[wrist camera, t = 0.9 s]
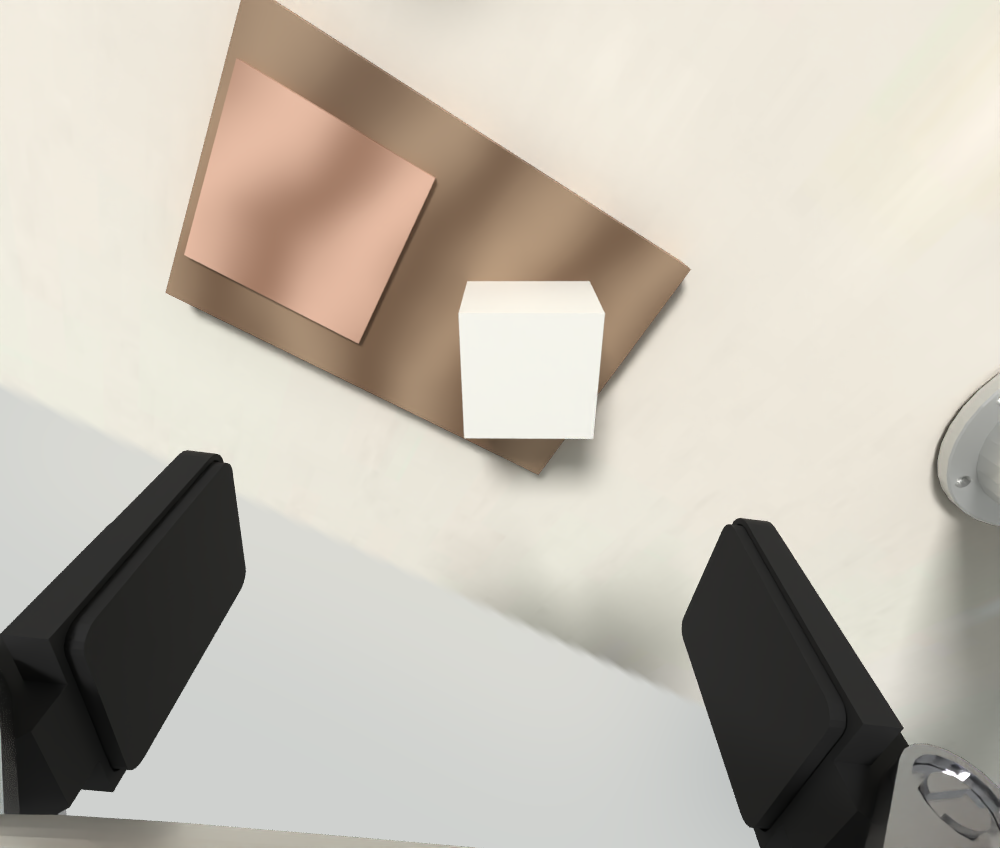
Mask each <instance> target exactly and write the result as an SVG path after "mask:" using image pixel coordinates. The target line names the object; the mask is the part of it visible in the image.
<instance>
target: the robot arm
mask: <svg viewBox="0 0 1000 848" xmlns="http://www.w3.org/2000/svg"><path fill="white" fill-rule="evenodd" d="M938 478H939V481H940V484H941V487H942V489H943V491H944V492H945V494H946V495H947V496H948V498H949V499H950V500H951V501H952V502H953V503H954V504H955V505H957V506H958V507H959V508H960V509H961V510H962V511H963V512H964V513H966V514H968V515H969V516H971V517H973V518H974V519H976V520H978V521H981V522H985V523H988V524H991V525H996V526H1000V373H999V374H998V375H997V376H995V377H994V378H993V379H992V380H991V381H989V382H988V383H987V384H986V385H984V386H983V387H982V388H981V389H980V390H978V391H977V393H976V394H975V395H974V396H973V397H972V398H971V399H970V400H969V401H968V402H967V403H966V404H965V405H964V406H963V407H962V409H961V410H960V412H959V413H958V415H957V416H956V418H955V419H954V420H953V422H952V423H951V425H950V426H949V429H948V431H947V433H946V435H945V437H944V439H943V441H942V443H941V448H940V452H939V456H938ZM245 569H246V568H245V560H244V553H243V546H242V538H241V531H240V523H239V516H238V509H237V501H236V494H235V486H234V479H233V472H232V467H231V465H230V464H228V463H224V462H223V459H222V457H221V456H220V455H218V454H213V453H205V452H197V451H188V450H187V451H183V452H182V453H180V454H179V455H178V456H177V457H176V458H175V459H174V460H173V461H172V462H171V463H170V464H169V465H168V466H167V467H166V468H165V469H164V470H163V471H162V472H161V473H160V474H159V475H158V476H157V477H156V478H155V479H154V481H153V482H151V483H150V484H149V485H148V486H147V487H146V489H145V490H144V491H143V492H142V493H141V494H140V495H139V496H138V497H137V498H136V499H135V500H134V501H133V502H132V503H131V504H130V505H129V506H128V507H127V508H126V509H125V510H124V511H123V512H122V513H121V514H120V515H119V516H118V517H117V518H116V519H115V520H114V521H113V522H112V523H110V524H109V525H108V526H107V527H106V528H105V529H104V530H103V531H102V532H101V533H100V534H99V535H98V536H97V537H96V538H95V539H94V540H93V541H92V542H91V543H90V544H89V545H88V546H87V547H86V548H85V549H84V550H83V551H82V552H81V553H80V554H79V555H78V556H77V557H76V558H75V559H74V560H73V561H72V562H71V563H70V564H69V565H68V566H67V567H66V568H65V569H64V571H62V573H60V574H59V575H58V576H57V577H56V578H55V579H54V580H53V581H52V582H51V583H50V584H49V585H48V586H47V587H46V588H45V589H44V590H43V591H42V593H41V594H39V595H38V596H37V597H36V599H34V601H33V602H31V603H30V605H28V607H27V608H26V609H25V610H24V611H23V612H22V613H21V614H20V615H19V616H18V617H17V618H16V619H15V620H14V621H13V622H12V623H11V624H10V625H9V626H8V627H7V628H6V629H5V630H4V631H3V632H2V633H1V634H0V848H473V847H462V846H450V845H439V844H427V843H415V842H404V841H393V840H381V839H371V838H359V837H346V836H335V835H323V834H311V833H299V832H287V831H275V830H274V831H273V830H262V829H251V828H238V827H226V826H215V825H203V824H191V823H178V822H162V821H147V820H131V819H115V818H99V817H84V816H67V815H66V809H67V808H69V807H70V806H71V804H72V802H73V801H74V800H75V798H76V796H77V795H78V793H79V792H80V790H81V789H83V790H94V791H106V792H113V791H114V790H115V788H116V786H117V785H118V783H119V781H120V780H121V778H122V776H123V774H124V773H125V771H126V770H133V769H134V768H136V767H137V766H138V765H139V764H140V763H141V761H142V760H143V758H144V757H145V755H146V753H147V751H148V750H149V748H150V746H151V745H152V743H153V741H154V739H155V737H156V736H157V734H158V732H159V731H160V729H161V727H162V725H163V724H164V722H165V720H166V718H167V717H168V715H169V713H170V711H171V710H172V708H173V706H174V705H175V703H176V701H177V699H178V698H179V696H180V694H181V692H182V691H183V689H184V687H185V685H186V684H187V682H188V680H189V679H190V677H191V675H192V673H193V671H194V670H195V668H196V666H197V665H198V663H199V661H200V659H201V658H202V656H203V654H204V652H205V651H206V649H207V647H208V645H209V644H210V642H211V640H212V639H213V637H214V635H215V633H216V632H217V630H218V628H219V626H220V625H221V623H222V621H223V619H224V618H225V616H226V614H227V613H228V611H229V609H230V607H231V606H232V604H233V602H234V600H235V599H236V597H237V595H238V593H239V592H240V590H241V588H242V585H243V583H244V579H245V573H246V570H245ZM682 636H683V640H684V643H685V646H686V649H687V652H688V655H689V658H690V661H691V664H692V667H693V670H694V673H695V676H696V679H697V682H698V685H699V688H700V691H701V694H702V697H703V700H704V704H705V707H706V710H707V713H708V716H709V719H710V722H711V725H712V728H713V731H714V734H715V737H716V740H717V743H718V746H719V749H720V752H721V755H722V758H723V761H724V764H725V767H726V770H727V773H728V777H729V779H730V782H731V786H732V789H733V792H734V795H735V798H736V801H737V804H738V807H739V809H740V813H741V815H742V818H743V820H744V821H745V823H746V824H747V825H748V826H749V827H751V828H754V831H755V834H756V837H757V840H758V842H759V846H760V848H1000V788H999V787H998V786H997V785H995V784H994V783H993V782H992V781H991V780H990V779H989V778H988V777H987V776H986V775H985V774H984V773H983V772H982V771H980V770H979V769H977V768H976V767H975V766H973V765H972V764H970V763H969V762H968V761H966V760H965V759H963V758H962V757H960V756H958V755H956V754H954V753H952V752H950V751H948V750H946V749H944V748H940V747H937V746H934V745H930V744H913V745H911V746H909V745H908V744H907V742H906V740H905V739H904V737H903V736H902V734H901V731H902V730H903V726H902V725H901V723H900V722H899V720H898V718H897V717H896V715H895V714H894V712H893V711H892V709H891V708H890V706H889V704H888V703H887V701H886V700H885V698H884V697H883V695H882V693H881V692H880V690H879V689H878V687H877V686H876V684H875V683H874V681H873V679H872V678H871V676H870V675H869V673H868V672H867V670H866V669H865V667H864V665H863V664H862V662H861V661H860V659H859V658H858V656H857V655H856V653H855V651H854V650H853V648H852V647H851V645H850V644H849V642H848V641H847V639H846V637H845V636H844V634H843V633H842V631H841V630H840V628H839V627H838V625H837V623H836V622H835V620H834V619H833V617H832V616H831V614H830V613H829V611H828V609H827V608H826V606H825V605H824V603H823V602H822V600H821V599H820V597H819V595H818V594H817V592H816V591H815V589H814V588H813V586H812V585H811V583H810V581H809V580H808V578H807V577H806V575H805V574H804V572H803V570H802V569H801V567H800V566H799V564H798V563H797V561H796V560H795V558H794V556H793V555H792V553H791V552H790V550H789V549H788V547H787V546H786V544H785V542H784V541H783V539H782V538H781V536H780V535H779V533H778V532H777V530H776V528H775V527H774V526H773V525H772V524H771V523H770V522H767V521H760V520H752V519H743V518H739V519H736V520H735V521H734V522H733V524H732V525H730V524H729V525H726V526H725V527H724V528H723V530H722V532H721V535H720V537H719V539H718V541H717V544H716V546H715V548H714V550H713V552H712V555H711V557H710V559H709V561H708V564H707V566H706V568H705V570H704V573H703V575H702V577H701V579H700V582H699V584H698V586H697V588H696V591H695V593H694V595H693V597H692V600H691V602H690V604H689V606H688V609H687V611H686V613H685V615H684V618H683V621H682Z"/></svg>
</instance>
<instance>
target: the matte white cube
mask: <svg viewBox="0 0 1000 848" xmlns="http://www.w3.org/2000/svg"><path fill="white" fill-rule="evenodd" d="M458 314H459V336H460V358H461V380H462V402H463V423H464V438H518V439H593V436H594V425H595V414H596V404H597V393H598V382H599V372H600V361H601V350H602V339H603V329H604V318H605V312H604V310H603V308H602V306H601V304H600V302H599V300H598V298H597V296H596V294H595V291H594V289H593V287H592V285H591V283H590V281H467V284H466V288H465V291H464V295H463V299H462V302H461V306H460V310H459V313H458Z"/></svg>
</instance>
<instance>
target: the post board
mask: <svg viewBox="0 0 1000 848" xmlns="http://www.w3.org/2000/svg"><path fill="white" fill-rule="evenodd" d="M690 270H691V269H690V268H689V267H687V266H686V265H685V264H684V263H683V262H681V261H680V260H678V259H677V258H675V257H673V256H672V255H670V254H669V253H667V252H666V251H664V250H663V249H661V248H659V247H658V246H656V245H655V244H653V243H652V242H650V241H649V240H647V239H645V238H644V237H642V236H641V235H639V234H638V233H636V232H634V231H633V230H631V229H630V228H628V227H627V226H625V225H624V224H622V223H620V222H619V221H617V220H616V219H614V218H613V217H611V216H610V215H608V214H606V213H605V212H603V211H602V210H600V209H599V208H597V207H596V206H594V205H592V204H591V203H589V202H588V201H586V200H585V199H583V198H582V197H580V196H578V195H577V194H575V193H574V192H572V191H571V190H569V189H568V188H566V187H564V186H563V185H561V184H560V183H558V182H557V181H555V180H554V179H552V178H550V177H549V176H547V175H546V174H544V173H543V172H541V171H539V170H538V169H536V168H535V167H533V166H532V165H530V164H529V163H527V162H525V161H524V160H522V159H521V158H519V157H518V156H516V155H515V154H513V153H511V152H510V151H508V150H507V149H505V148H504V147H502V146H501V145H499V144H497V143H496V142H494V141H493V140H491V139H490V138H488V137H487V136H485V135H483V134H482V133H480V132H479V131H477V130H476V129H474V128H473V127H471V126H469V125H468V124H466V123H465V122H463V121H462V120H460V119H458V118H457V117H455V116H454V115H452V114H451V113H449V112H448V111H446V110H444V109H443V108H441V107H440V106H438V105H437V104H435V103H434V102H432V101H430V100H429V99H427V98H426V97H424V96H423V95H421V94H420V93H418V92H416V91H415V90H413V89H412V88H410V87H409V86H407V85H406V84H404V83H402V82H401V81H399V80H398V79H396V78H395V77H393V76H392V75H390V74H388V73H387V72H385V71H384V70H382V69H381V68H379V67H377V66H376V65H374V64H373V63H371V62H370V61H368V60H367V59H365V58H363V57H362V56H360V55H359V54H357V53H356V52H354V51H353V50H351V49H349V48H348V47H346V46H345V45H343V44H342V43H340V42H339V41H337V40H335V39H334V38H332V37H331V36H329V35H328V34H326V33H325V32H323V31H321V30H320V29H318V28H317V27H315V26H314V25H312V24H311V23H309V22H307V21H306V20H304V19H303V18H301V17H300V16H298V15H296V14H295V13H293V12H292V11H290V10H289V9H287V8H286V7H284V6H282V5H281V4H279V3H278V2H276V1H275V0H241V2H240V6H239V9H238V13H237V17H236V21H235V25H234V29H233V33H232V37H231V41H230V44H229V48H228V52H227V56H226V60H225V64H224V68H223V72H222V75H221V79H220V83H219V87H218V91H217V95H216V99H215V103H214V107H213V110H212V114H211V118H210V122H209V126H208V130H207V134H206V138H205V141H204V145H203V149H202V153H201V157H200V161H199V165H198V169H197V172H196V176H195V180H194V184H193V188H192V192H191V196H190V200H189V204H188V207H187V211H186V215H185V219H184V223H183V227H182V231H181V235H180V238H179V242H178V246H177V250H176V254H175V258H174V262H173V266H172V270H171V273H170V277H169V281H168V285H167V289H166V293H167V294H169V295H171V296H173V297H175V298H177V299H179V300H181V301H183V302H185V303H188V304H190V305H192V306H194V307H196V308H198V309H200V310H202V311H204V312H206V313H208V314H210V315H212V316H214V317H216V318H218V319H220V320H222V321H224V322H226V323H228V324H231V325H233V326H235V327H237V328H239V329H241V330H243V331H245V332H247V333H249V334H251V335H253V336H255V337H257V338H259V339H261V340H263V341H265V342H267V343H269V344H271V345H274V346H276V347H278V348H280V349H282V350H284V351H286V352H288V353H290V354H292V355H294V356H296V357H298V358H300V359H302V360H304V361H306V362H308V363H310V364H312V365H314V366H316V367H319V368H321V369H323V370H325V371H327V372H329V373H331V374H333V375H335V376H337V377H339V378H341V379H343V380H345V381H347V382H349V383H351V384H353V385H355V386H357V387H359V388H362V389H364V390H366V391H368V392H370V393H372V394H374V395H376V396H378V397H380V398H382V399H384V400H386V401H388V402H390V403H392V404H394V405H396V406H398V407H400V408H402V409H405V410H407V411H409V412H411V413H413V414H415V415H417V416H419V417H421V418H423V419H425V420H427V421H429V422H431V423H433V424H435V425H437V426H439V427H441V428H443V429H445V430H447V431H450V432H452V433H454V434H456V435H458V436H460V437H462V438H464V423H463V402H462V380H461V358H460V336H459V314H458V313H459V310H460V306H461V302H462V299H463V295H464V291H465V288H466V284H467V281H590V283H591V285H592V287H593V289H594V291H595V294H596V296H597V298H598V300H599V302H600V304H601V306H602V308H603V310H604V312H605V318H604V329H603V339H602V350H601V361H600V372H599V382H598V393H597V395H598V394H599V392H600V391H601V390H602V388H603V387H604V386H605V384H606V383H607V382H608V380H609V379H610V378H611V376H612V375H613V374H614V372H615V371H616V370H617V368H618V367H619V366H620V364H621V363H622V361H623V360H624V359H625V357H626V356H627V355H628V353H629V352H630V351H631V349H632V348H633V347H634V345H635V344H636V343H637V341H638V340H639V339H640V337H641V336H642V335H643V333H644V332H645V330H646V329H647V328H648V326H649V325H650V324H651V322H652V321H653V320H654V318H655V317H656V316H657V314H658V313H659V312H660V310H661V309H662V308H663V306H664V305H665V304H666V302H667V301H668V299H669V298H670V297H671V295H672V294H673V293H674V291H675V290H676V289H677V287H678V286H679V285H680V283H681V282H682V281H683V279H684V278H685V277H686V275H687V274H688V273H689V271H690ZM464 439H466V440H468V441H470V442H472V443H474V444H476V445H478V446H480V447H482V448H484V449H486V450H488V451H490V452H493V453H495V454H497V455H499V456H501V457H503V458H505V459H507V460H509V461H511V462H513V463H515V464H517V465H519V466H521V467H523V468H525V469H527V470H529V471H531V472H533V473H536V474H538V475H539V473H540V472H541V471H542V469H543V468H544V467H545V465H546V464H547V463H548V461H549V460H550V459H551V457H552V456H553V454H554V453H555V452H556V450H557V449H558V448H559V446H560V445H561V444H562V442H563V441H564V440H565V439H518V438H464Z"/></svg>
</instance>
